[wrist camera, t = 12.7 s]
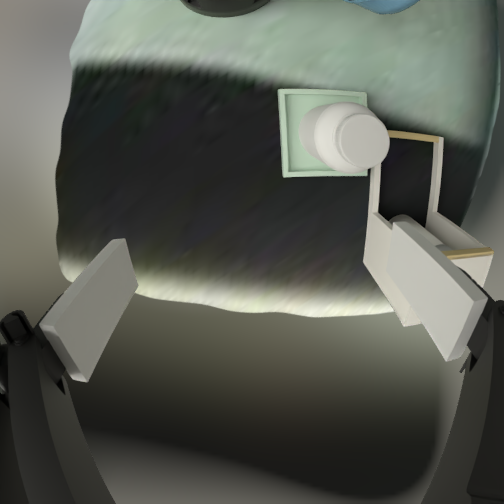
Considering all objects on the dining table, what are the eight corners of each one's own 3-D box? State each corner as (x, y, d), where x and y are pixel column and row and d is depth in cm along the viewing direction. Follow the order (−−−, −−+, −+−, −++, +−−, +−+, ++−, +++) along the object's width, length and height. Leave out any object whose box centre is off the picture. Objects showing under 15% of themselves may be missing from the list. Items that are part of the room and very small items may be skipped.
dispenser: (371, 128, 36) (437, 141, 21) (438, 136, 36) (510, 156, 20) (363, 262, 46) (403, 326, 31) (423, 257, 46) (473, 311, 30)
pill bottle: (358, 118, 35) (411, 122, 22) (340, 167, 38) (383, 195, 25) (307, 96, 34) (340, 85, 20) (289, 148, 37) (311, 166, 24)
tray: (277, 90, 34) (278, 89, 32) (362, 93, 34) (366, 92, 32) (282, 174, 40) (283, 177, 38) (363, 173, 39) (367, 175, 38)
